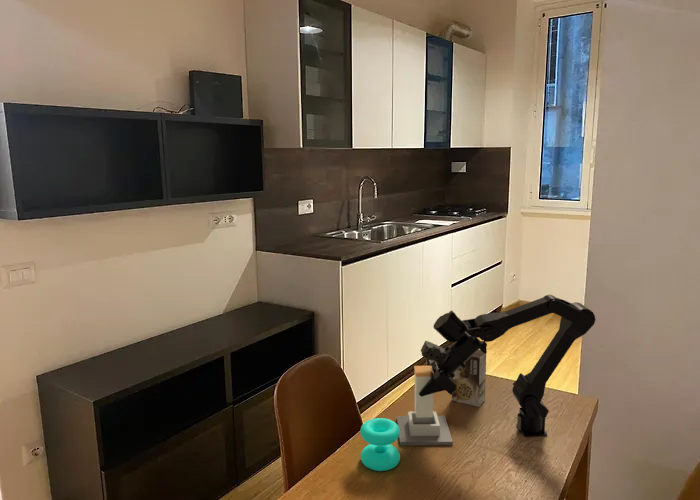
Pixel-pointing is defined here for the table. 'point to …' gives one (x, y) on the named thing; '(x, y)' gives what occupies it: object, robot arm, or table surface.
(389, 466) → the donuts
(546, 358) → the robot arm
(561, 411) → the table surface
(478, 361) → the coffee box
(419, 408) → the plug
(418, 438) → the socket
